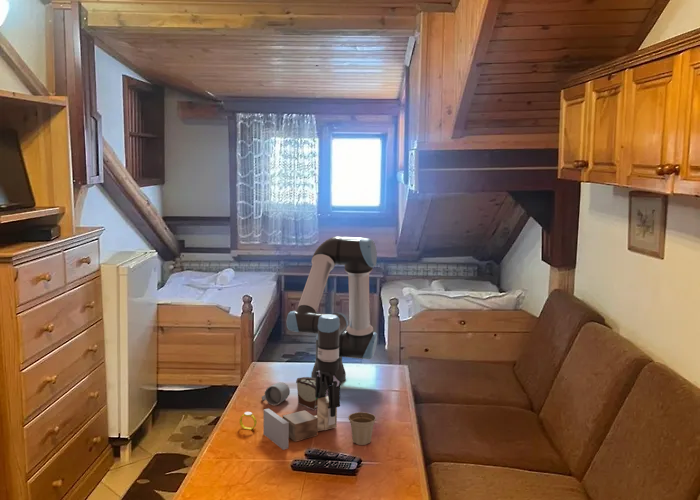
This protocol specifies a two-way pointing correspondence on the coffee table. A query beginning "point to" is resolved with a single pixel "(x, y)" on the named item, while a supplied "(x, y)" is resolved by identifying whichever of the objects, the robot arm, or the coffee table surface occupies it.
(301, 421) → the block
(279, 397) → the ceramic mug
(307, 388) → the half-round slice
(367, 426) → the flower pot
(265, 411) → the wall
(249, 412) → the watch
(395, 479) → the coffee table surface
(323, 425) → the cream l-shaped piece
